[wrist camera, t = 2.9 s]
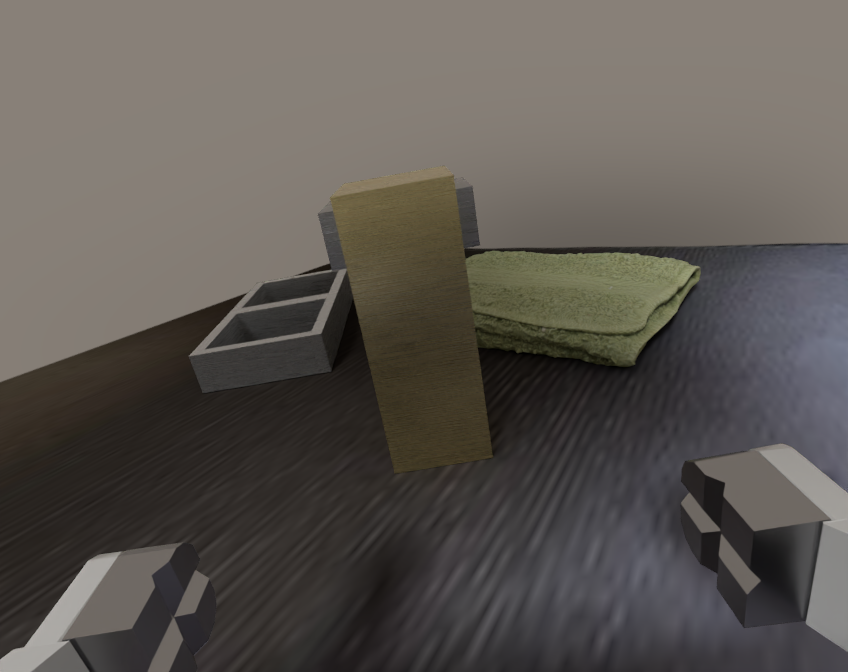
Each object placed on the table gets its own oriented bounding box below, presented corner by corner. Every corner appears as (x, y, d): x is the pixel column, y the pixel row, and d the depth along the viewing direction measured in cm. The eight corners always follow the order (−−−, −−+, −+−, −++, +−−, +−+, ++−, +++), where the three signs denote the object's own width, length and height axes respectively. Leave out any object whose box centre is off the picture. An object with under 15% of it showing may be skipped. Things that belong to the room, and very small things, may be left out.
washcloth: (643, 388, 24) (644, 326, 23) (374, 341, 35) (364, 297, 33) (704, 292, 33) (707, 243, 32) (476, 279, 44) (471, 242, 42)
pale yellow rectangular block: (380, 476, 20) (311, 200, 16) (384, 422, 24) (328, 186, 20) (507, 455, 20) (472, 171, 16) (492, 404, 24) (459, 162, 20)
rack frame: (203, 393, 30) (188, 356, 30) (265, 309, 44) (257, 282, 43) (331, 371, 30) (321, 333, 29) (354, 294, 44) (347, 266, 43)
